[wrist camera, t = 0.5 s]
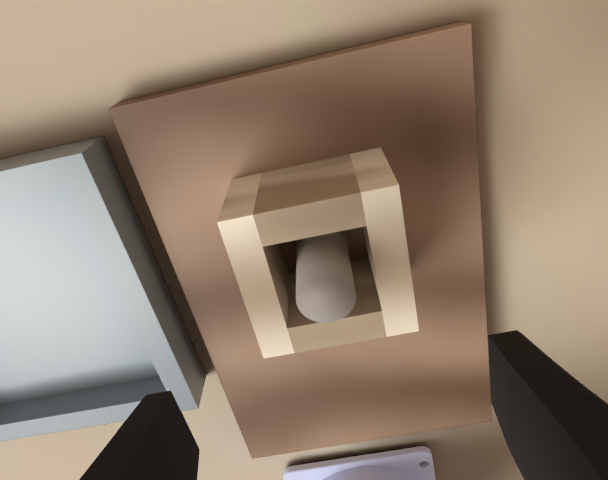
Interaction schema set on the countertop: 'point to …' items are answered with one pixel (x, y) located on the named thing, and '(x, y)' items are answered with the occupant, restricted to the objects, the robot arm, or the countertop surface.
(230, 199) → the hollow wooden block
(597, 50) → the countertop surface
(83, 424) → the tray
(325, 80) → the stake board
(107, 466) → the robot arm
